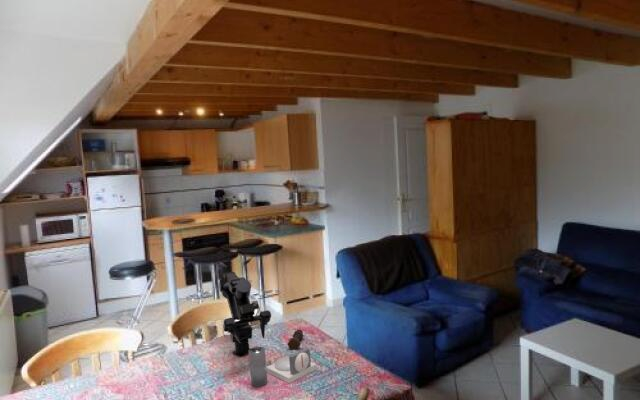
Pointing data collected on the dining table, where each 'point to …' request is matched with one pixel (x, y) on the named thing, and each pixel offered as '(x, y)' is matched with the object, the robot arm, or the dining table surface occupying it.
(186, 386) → the dining table surface
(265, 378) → the cylinder
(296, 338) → the dark brown lobed figurine
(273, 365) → the dial scale
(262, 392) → the dining table surface
